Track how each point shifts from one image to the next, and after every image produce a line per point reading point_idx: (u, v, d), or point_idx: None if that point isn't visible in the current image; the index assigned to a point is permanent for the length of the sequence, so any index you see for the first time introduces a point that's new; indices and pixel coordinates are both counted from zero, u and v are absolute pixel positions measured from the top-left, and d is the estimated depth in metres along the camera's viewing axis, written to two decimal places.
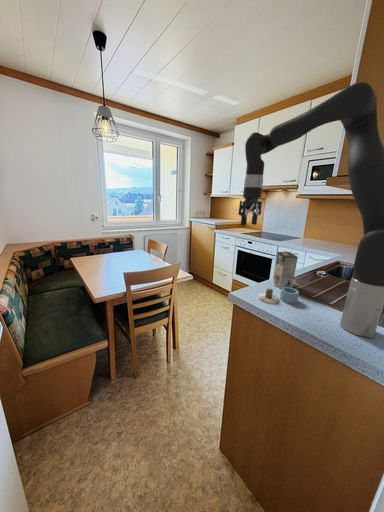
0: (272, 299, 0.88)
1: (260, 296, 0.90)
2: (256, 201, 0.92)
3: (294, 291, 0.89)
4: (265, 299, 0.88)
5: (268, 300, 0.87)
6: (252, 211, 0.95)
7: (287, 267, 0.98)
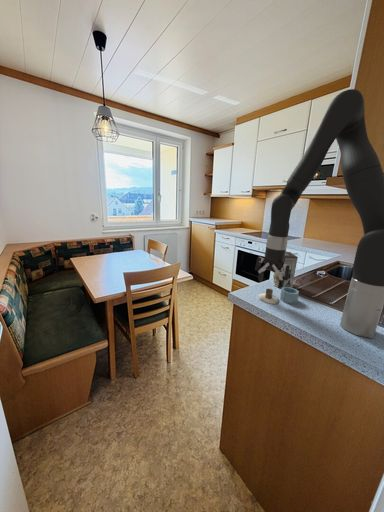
0: (272, 299, 0.88)
1: (260, 296, 0.90)
2: None
3: (294, 291, 0.89)
4: (265, 299, 0.88)
5: (268, 300, 0.87)
6: (264, 269, 0.88)
7: None
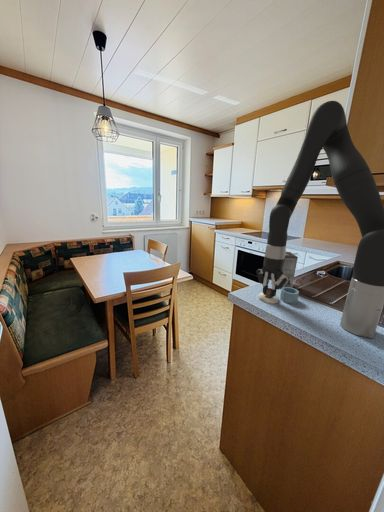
0: (272, 298, 0.88)
1: (260, 295, 0.90)
2: None
3: (294, 291, 0.89)
4: (265, 298, 0.88)
5: (268, 299, 0.87)
6: (267, 280, 0.88)
7: (287, 267, 0.98)
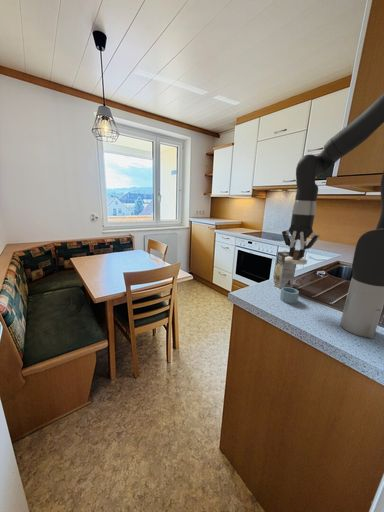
0: (300, 260, 0.83)
1: (287, 258, 0.85)
2: None
3: (294, 291, 0.89)
4: (293, 260, 0.83)
5: (297, 260, 0.82)
6: (294, 241, 0.83)
7: (287, 267, 0.98)
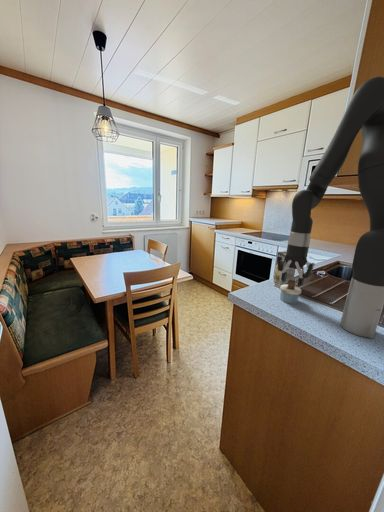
0: (295, 290, 0.86)
1: (282, 287, 0.89)
2: None
3: None
4: (288, 290, 0.86)
5: (291, 290, 0.85)
6: (287, 268, 0.87)
7: None
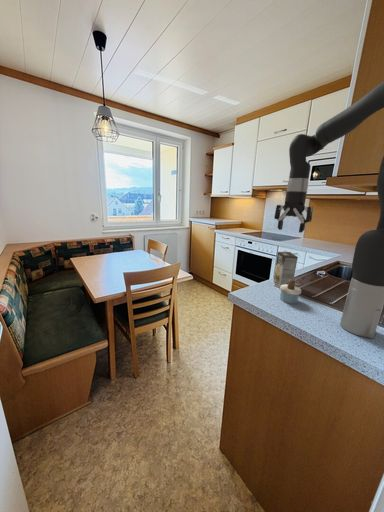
0: (295, 290, 0.86)
1: (282, 287, 0.89)
2: None
3: None
4: (288, 290, 0.86)
5: (291, 290, 0.85)
6: (284, 216, 0.90)
7: (287, 267, 0.98)
